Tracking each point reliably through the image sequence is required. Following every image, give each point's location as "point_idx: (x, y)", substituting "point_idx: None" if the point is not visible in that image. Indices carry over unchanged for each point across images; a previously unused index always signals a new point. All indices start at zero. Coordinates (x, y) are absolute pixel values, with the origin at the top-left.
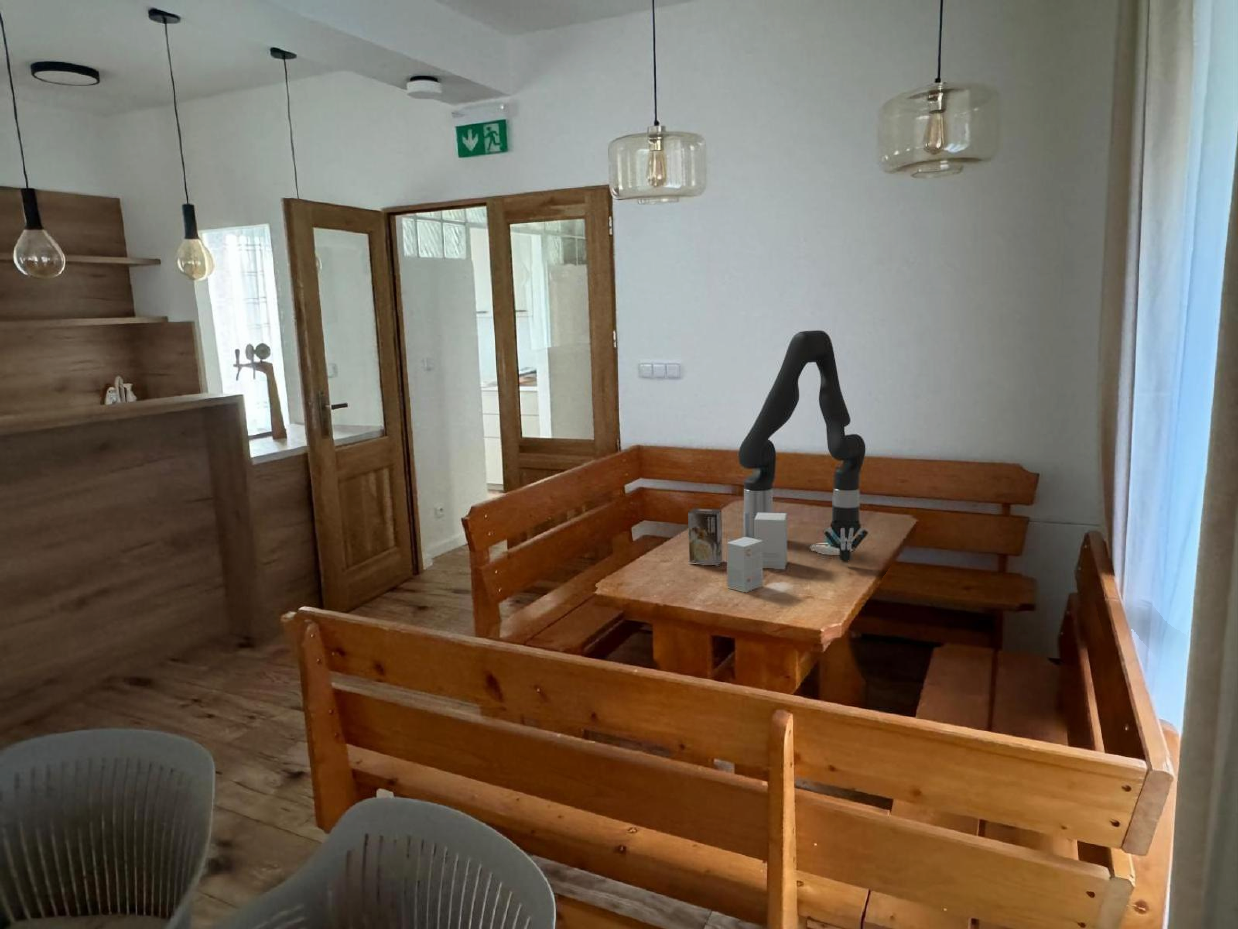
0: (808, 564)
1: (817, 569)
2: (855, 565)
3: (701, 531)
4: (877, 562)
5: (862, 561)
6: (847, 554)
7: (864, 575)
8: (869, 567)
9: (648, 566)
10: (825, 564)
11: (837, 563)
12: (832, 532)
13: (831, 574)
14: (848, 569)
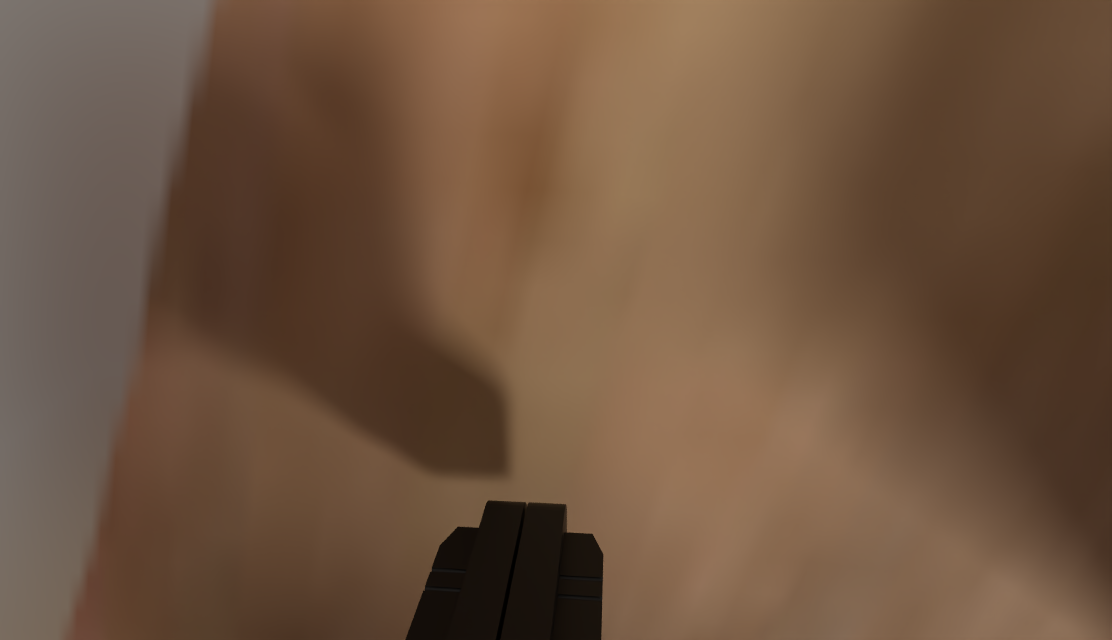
0: (998, 614)
1: (972, 411)
2: (388, 514)
3: None
4: (118, 583)
5: (285, 633)
6: (474, 590)
7: (322, 60)
8: (219, 424)
9: None
10: (766, 590)
11: None
12: None
13: (853, 149)
14: (513, 370)
